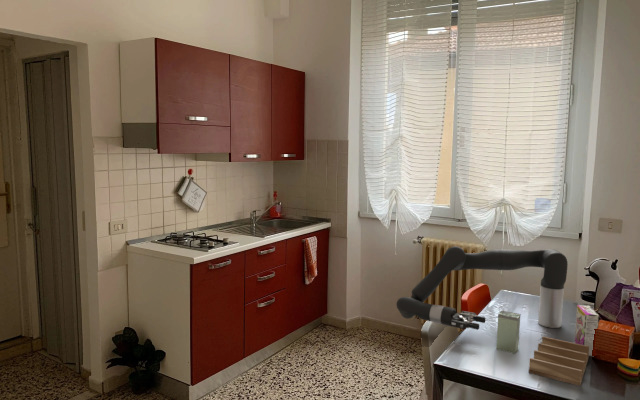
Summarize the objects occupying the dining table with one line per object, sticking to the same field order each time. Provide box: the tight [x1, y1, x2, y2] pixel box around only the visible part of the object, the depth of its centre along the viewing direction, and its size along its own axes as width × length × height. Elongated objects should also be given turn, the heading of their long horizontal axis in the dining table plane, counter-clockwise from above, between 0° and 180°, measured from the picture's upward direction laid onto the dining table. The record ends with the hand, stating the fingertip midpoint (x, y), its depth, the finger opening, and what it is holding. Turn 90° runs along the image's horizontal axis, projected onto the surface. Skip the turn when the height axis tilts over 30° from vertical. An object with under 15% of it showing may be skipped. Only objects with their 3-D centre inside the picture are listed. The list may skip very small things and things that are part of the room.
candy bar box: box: [573, 304, 600, 357], centre depth 188 cm, size 11×5×16 cm, turn 168°
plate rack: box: [528, 336, 590, 387], centre depth 175 cm, size 25×16×5 cm, turn 146°
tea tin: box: [496, 310, 522, 354], centre depth 189 cm, size 5×7×14 cm
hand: (482, 323), depth 194 cm, fingers open, 8 cm apart
